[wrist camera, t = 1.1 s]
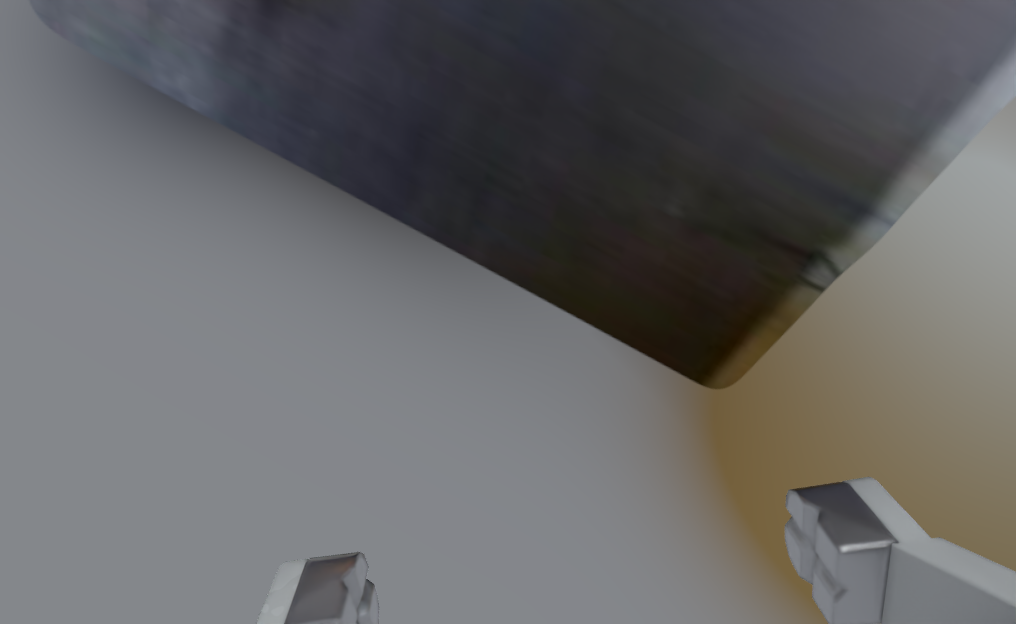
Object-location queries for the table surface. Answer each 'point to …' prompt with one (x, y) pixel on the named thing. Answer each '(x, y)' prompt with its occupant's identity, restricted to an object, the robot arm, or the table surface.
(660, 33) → the table surface
